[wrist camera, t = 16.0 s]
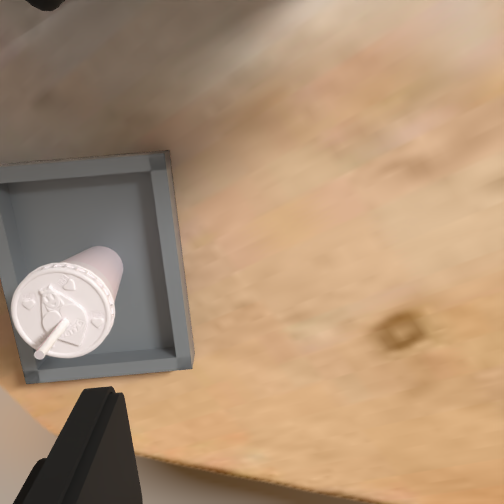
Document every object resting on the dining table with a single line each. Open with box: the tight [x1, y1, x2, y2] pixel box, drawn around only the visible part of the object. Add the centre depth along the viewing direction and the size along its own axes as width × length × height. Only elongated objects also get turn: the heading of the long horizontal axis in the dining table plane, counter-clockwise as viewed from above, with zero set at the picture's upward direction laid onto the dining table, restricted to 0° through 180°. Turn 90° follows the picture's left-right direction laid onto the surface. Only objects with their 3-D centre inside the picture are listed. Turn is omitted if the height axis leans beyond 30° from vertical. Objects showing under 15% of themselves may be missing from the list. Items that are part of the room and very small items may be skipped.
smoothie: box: [11, 246, 123, 359], centre depth 33 cm, size 6×6×14 cm
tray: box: [0, 150, 195, 384], centre depth 39 cm, size 18×14×3 cm
